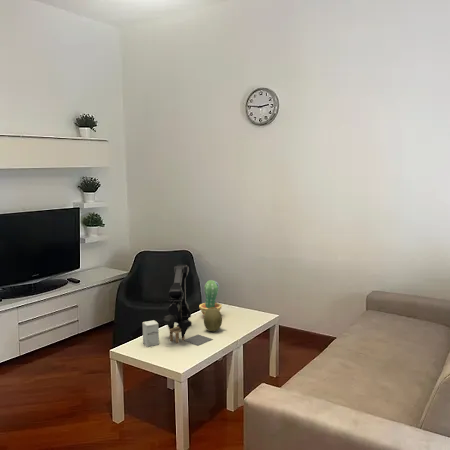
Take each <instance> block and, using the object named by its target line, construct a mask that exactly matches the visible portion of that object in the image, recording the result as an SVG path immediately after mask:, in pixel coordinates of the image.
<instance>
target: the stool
mask: <svg viewBox="0 0 450 450" xmlns="http://www.w3.org/2000/svg"><path fill="white" fill-rule="evenodd" d="M180 333H181V329H180V328H179V327H177V326H174V328H172V329H170V330H169V341H170V342H173V341H174V334H175V343H176V344H179V342H180V340H179V339H180ZM185 337H186V335H184V337H183V338H182V337H181V341H183V340H185V339H186V338H185ZM183 342H184V341H183Z"/></svg>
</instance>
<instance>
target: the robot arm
mask: <svg viewBox="0 0 450 450" xmlns="http://www.w3.org/2000/svg"><path fill="white" fill-rule="evenodd" d="M173 271H174V272H173V273H174V281H173V284H172V285H171V286H170V289H169V291H168V301H167V302H168V303H170V305H169V306H168V313H169V314H168V315H164V316H163V317H162V322H163V323H164V324H165V326H167V327H168V329H169V331H170V329H172V328H175V324H177V325H176V327H179V328H180V329H181V332H180V333H181V334H180V335H181V339H182V338H183V337H184V335H185V334H186V332H187V330H188V328H190V327H191V326H192V321H190V318H191V317H192V312H191V309H190V308H189V304H188V303H187V301H186V300H187V299H186V298H187V294H186V292H187V291H186V289H187V287H186V278H187V276H188V274H189V272H190V268H189V266H188V265H187V264H176V266H174V267H173ZM185 336H186V335H185Z"/></svg>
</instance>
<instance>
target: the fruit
mask: <svg viewBox="0 0 450 450" xmlns="http://www.w3.org/2000/svg"><path fill="white" fill-rule="evenodd" d="M222 316H223V315H222V313H221V310H220V311H219V310H218V309H217V308H216V307H210V308H208V309H207V310H206V312H205V315H203V324H204V327H205V328H206V330H207V331H209V332H217V331H218V330H219V329H221V326H222V324H223V317H222Z"/></svg>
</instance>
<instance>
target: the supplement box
mask: <svg viewBox="0 0 450 450" xmlns="http://www.w3.org/2000/svg"><path fill="white" fill-rule="evenodd" d="M159 330H160V329H159V323H158V322H157V321H156V320H154V319H153V320H148V321H143V322H142V342H143V344H144V345H145V346H146V347H147V348H148V347H152V346H153V347H154V346H157V345H158V346H159V344H160V335H159Z"/></svg>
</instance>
